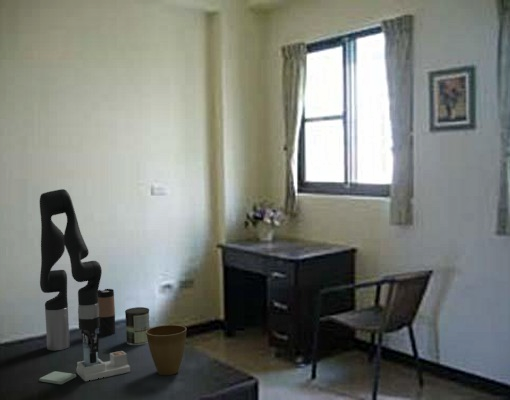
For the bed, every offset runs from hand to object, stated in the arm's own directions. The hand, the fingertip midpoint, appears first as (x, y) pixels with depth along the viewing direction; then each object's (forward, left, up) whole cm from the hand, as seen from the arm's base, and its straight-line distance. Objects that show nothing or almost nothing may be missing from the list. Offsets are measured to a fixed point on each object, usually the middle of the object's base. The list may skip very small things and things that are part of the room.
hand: (90, 360), depth 229 cm
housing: (0, +4, -5) cm, 7 cm away
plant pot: (+14, +24, -6) cm, 29 cm away
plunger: (0, +11, -3) cm, 11 cm away
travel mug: (-50, +22, -6) cm, 55 cm away
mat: (-3, -12, -5) cm, 13 cm away
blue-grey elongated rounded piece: (0, 0, -3) cm, 3 cm away
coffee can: (-29, +30, -6) cm, 42 cm away
